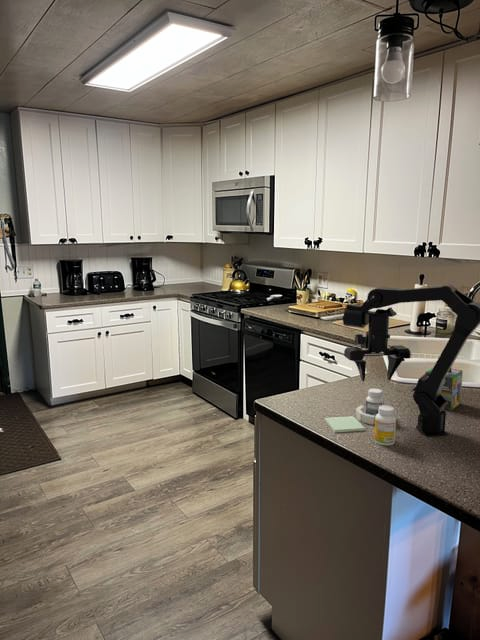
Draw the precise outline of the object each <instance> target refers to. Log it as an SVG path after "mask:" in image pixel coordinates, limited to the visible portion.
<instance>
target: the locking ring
mask: <svg viewBox="0 0 480 640" xmlns="http://www.w3.org/2000/svg"><path fill="white" fill-rule="evenodd" d="M355 418H356V419H357V420H358V421H359V422H361V423H363V424H367V425H372V426H373V425H374V426H375V416H373V415H369V414H366V412H365V405H359V406H358V407H356V408H355Z"/></svg>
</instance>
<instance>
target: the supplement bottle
mask: <svg viewBox="0 0 480 640" xmlns="http://www.w3.org/2000/svg"><path fill="white" fill-rule="evenodd" d="M378 412H379V413H378V414H377V415H376V417H375V424H374V439H373V440H374V442H375V443H376V444H378V445H381V446H392V445H394V444H395V443H396V429H397V428H396V427H397V418H396V415H395V414H394V413H395V408H394V407H393V406H391V405H388V404H387V405H385V404H384V405H382V406H379V409H378Z"/></svg>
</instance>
